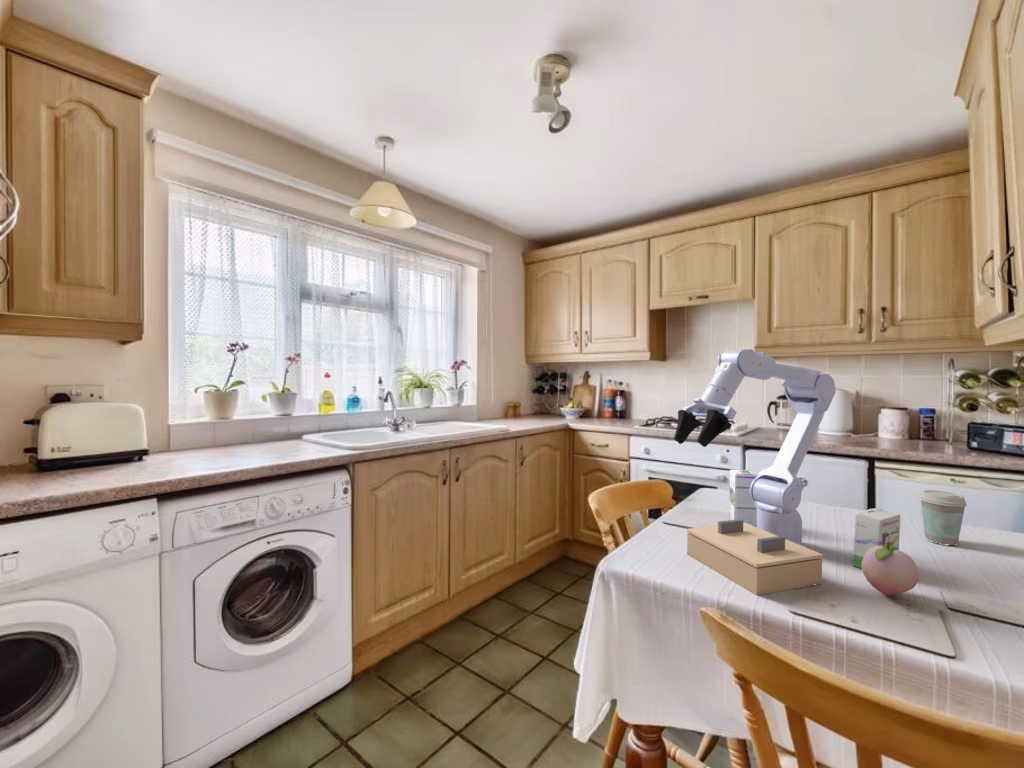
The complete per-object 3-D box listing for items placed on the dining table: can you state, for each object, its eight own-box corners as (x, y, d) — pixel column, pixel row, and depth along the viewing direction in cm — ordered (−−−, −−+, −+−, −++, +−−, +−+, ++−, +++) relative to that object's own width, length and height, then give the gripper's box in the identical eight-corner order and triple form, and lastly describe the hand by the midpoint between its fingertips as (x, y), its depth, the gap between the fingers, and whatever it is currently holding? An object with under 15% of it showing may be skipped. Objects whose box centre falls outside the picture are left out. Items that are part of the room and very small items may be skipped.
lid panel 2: (780, 539, 99) (780, 525, 99) (823, 557, 90) (823, 542, 89) (718, 547, 94) (718, 533, 94) (756, 567, 85) (756, 551, 85)
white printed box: (757, 527, 122) (758, 474, 122) (734, 525, 124) (734, 473, 123) (750, 520, 128) (751, 469, 128) (728, 519, 129) (729, 468, 129)
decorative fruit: (917, 613, 79) (919, 556, 79) (858, 597, 85) (859, 544, 84) (918, 594, 86) (920, 541, 86) (864, 580, 91) (865, 531, 91)
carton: (743, 546, 109) (743, 526, 109) (821, 584, 90) (822, 559, 89) (687, 554, 104) (687, 532, 104) (756, 595, 85) (757, 569, 85)
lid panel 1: (744, 524, 109) (744, 512, 109) (780, 539, 99) (780, 525, 99) (686, 531, 104) (686, 518, 104) (718, 547, 94) (718, 533, 94)
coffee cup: (927, 545, 110) (929, 496, 110) (912, 533, 118) (913, 488, 118) (973, 550, 107) (975, 500, 106) (954, 538, 115) (955, 491, 114)
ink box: (872, 558, 102) (873, 506, 102) (900, 567, 98) (901, 513, 97) (851, 566, 98) (852, 512, 98) (879, 575, 94) (881, 519, 93)
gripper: (685, 384, 108) (656, 430, 105) (731, 380, 94) (699, 433, 91) (704, 401, 109) (677, 447, 106) (753, 401, 96) (722, 454, 93)
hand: (688, 442), depth 99 cm, fingers open, 7 cm apart
